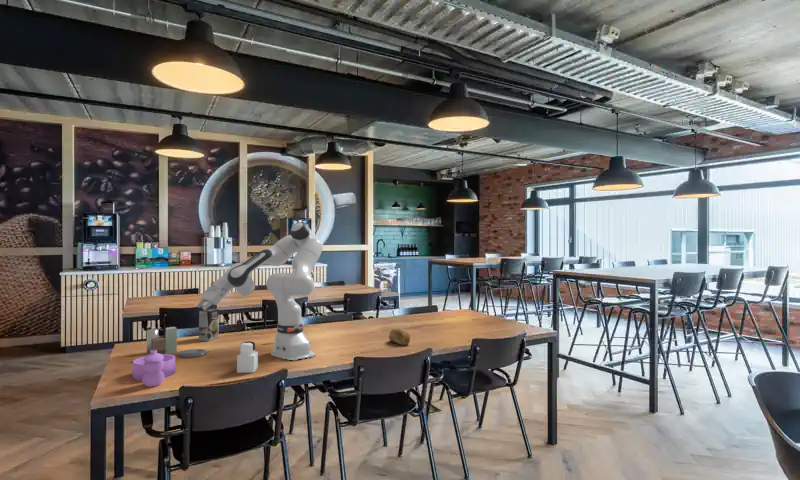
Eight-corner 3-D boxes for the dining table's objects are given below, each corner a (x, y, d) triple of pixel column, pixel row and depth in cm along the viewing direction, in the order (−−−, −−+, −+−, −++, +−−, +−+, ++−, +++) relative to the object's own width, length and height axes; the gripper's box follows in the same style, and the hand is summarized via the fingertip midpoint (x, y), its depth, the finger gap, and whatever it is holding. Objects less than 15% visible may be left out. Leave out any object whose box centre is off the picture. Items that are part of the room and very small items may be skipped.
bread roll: (399, 347, 229) (399, 332, 228) (384, 341, 241) (384, 327, 241) (414, 345, 234) (414, 330, 234) (398, 339, 246) (398, 325, 246)
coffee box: (209, 341, 236) (209, 311, 235) (198, 340, 237) (198, 310, 237) (219, 337, 245) (219, 308, 244) (209, 336, 246) (209, 308, 246)
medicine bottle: (241, 367, 190) (241, 340, 190) (258, 367, 191) (258, 340, 191) (236, 373, 183) (236, 344, 183) (253, 372, 184) (254, 344, 183)
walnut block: (165, 358, 203) (165, 339, 203) (153, 360, 199) (153, 340, 199) (163, 356, 207) (163, 337, 206) (151, 358, 203) (151, 338, 203)
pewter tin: (159, 353, 212) (159, 330, 212) (147, 354, 209) (148, 331, 208) (157, 350, 216) (157, 328, 215) (145, 352, 212) (145, 329, 212)
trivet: (209, 355, 209) (209, 352, 209) (182, 359, 201) (182, 357, 201) (201, 349, 218) (201, 347, 218) (175, 353, 210) (175, 351, 210)
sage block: (176, 352, 213) (176, 328, 213) (167, 354, 210) (167, 329, 210) (174, 351, 216) (174, 326, 216) (165, 352, 213) (165, 327, 213)
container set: (133, 372, 183) (133, 340, 183) (174, 367, 190) (174, 337, 190) (129, 391, 161) (129, 355, 161) (176, 384, 168) (176, 350, 168)
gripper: (231, 293, 222) (210, 314, 215) (219, 290, 238) (199, 309, 232) (223, 285, 219) (201, 306, 213) (211, 282, 235) (191, 301, 229)
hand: (200, 307), depth 222 cm, fingers open, 8 cm apart
